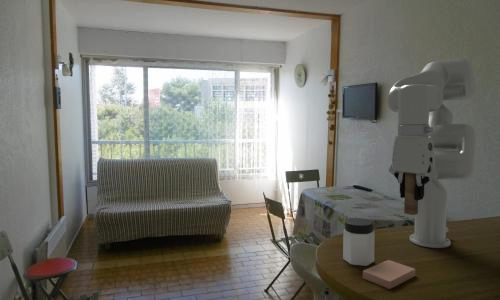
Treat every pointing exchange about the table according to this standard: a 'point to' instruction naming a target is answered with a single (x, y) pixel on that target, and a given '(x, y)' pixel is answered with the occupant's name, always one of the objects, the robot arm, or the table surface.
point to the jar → (358, 241)
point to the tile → (388, 274)
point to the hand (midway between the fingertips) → (411, 197)
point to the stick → (410, 194)
